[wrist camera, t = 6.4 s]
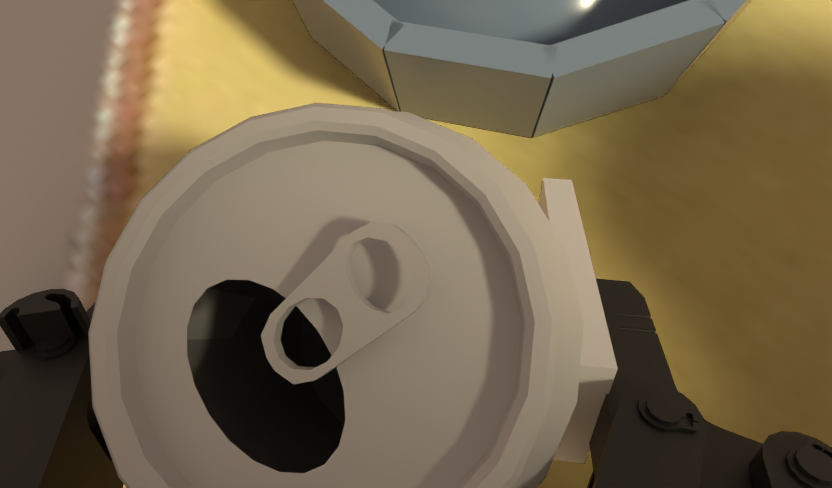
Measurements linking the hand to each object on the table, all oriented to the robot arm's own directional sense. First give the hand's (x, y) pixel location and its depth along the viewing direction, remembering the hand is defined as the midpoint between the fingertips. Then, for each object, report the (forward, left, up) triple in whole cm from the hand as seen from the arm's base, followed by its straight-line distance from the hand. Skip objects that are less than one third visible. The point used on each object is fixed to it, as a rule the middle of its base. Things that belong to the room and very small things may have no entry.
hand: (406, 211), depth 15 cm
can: (+1, +3, -4) cm, 6 cm away
